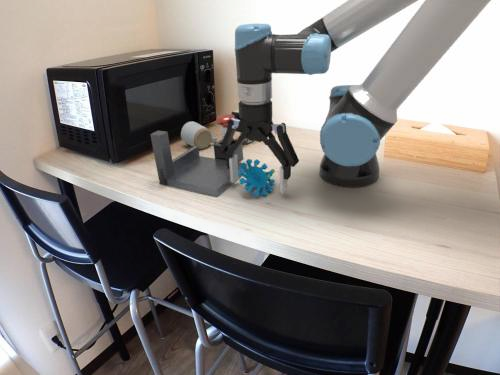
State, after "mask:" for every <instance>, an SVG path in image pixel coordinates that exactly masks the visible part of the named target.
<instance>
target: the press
mask: <svg viewBox="0 0 500 375" xmlns="http://www.w3.org/2000/svg"><path fill="white" fill-rule="evenodd" d="M150 139H151V140H150V141H151V145H152V151H153V156H154V162H155V165H156V172H157V176H158V183H159V185H162V186H166V187H170V188H176V189H179V190H184V191H189V192H192V193H198V194H202V195H206V196H209V197H210V196H211V197H215V198H218V197H219V196H221V195H222V194H223V193H224V192H226V190H227V189H228V188H230V187H231V186H232V185H233V184H234V183H232V182H231V178H230V169H228V168H227V160H226V157H225V155H223V154H219V149H220V147H221V144H222V139H220V140H218V141H216V143H213V153H214V157H208V156H201V155H200V149H199V148H198V146H194V147H193V146H191V148H190V149H188V150H186V151H184V152H183V153H181V154H180V155H177V156H176V157H174V158H173V157H172V150H171V144H170V139H169V133H168V131H165V130H163V131H162V130H157V131H153V132H152V133H150ZM237 139H238V138H236V139H235V138H233V144H234V143H235V142H236V140H237ZM233 144H232V145H233ZM232 145H231V146H232ZM231 146H229V148H228V149H230V148H231ZM233 155H237V162H238V171H239V170H240V169H242V168H241V167H240V165H241V164H242V163H243V162H242V161H243V160H244V148H243V143H242V144H241V146H240V147H239V148H238V149H237V151H236V152H235V153H234V154H233ZM241 162H242V163H241ZM246 168H247V169H248V165H247V163H246ZM242 170H243V169H242ZM243 172H244V173H245V171H244V170H243ZM245 174H246V173H245ZM238 177H239V178H238V179H237V180H236V181H235V182H237V181H238V180H240V179H241V178H242V176H240V175H238Z"/></svg>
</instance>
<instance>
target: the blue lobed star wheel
mask: <svg viewBox="0 0 500 375" xmlns="http://www.w3.org/2000/svg"><path fill="white" fill-rule="evenodd" d="M252 163H253V166H252ZM260 163H261V161H260V160H259V159H255V160H252V159H250V158H248V159H246V161H245V162H244V161H243V162H242V164H241V165H240V167H241V168H242V169H243V170H244V171H245V173H244V172H243V170H242V169H240V170H239V171H238V175H240V176H241V177H240V178H239V184H240V185H243V184H245V185H244V186H245V187H244V190H245V191H246V192H247V193H249V192H250V191H252V189H255V190H254V191H253V192H252V195H253V196H254V197H258V196H259V195H261V196H262V197H266V196H267V195H268V193H270V192H271V191H273V190H274V188H273V187H272V186H273V185H274V184H275V182H276V181H275V179H273V178H271V177H273V174H275V172H276V170H275V169H274V168H272V169H270V170H269V171H265V170H267V169H268V165H267V164H266V163H263V164H262V165H261V166H260V167H258V166H259V165H260ZM246 164H247V165H248V169H247V168H246ZM260 189H261V193H260Z"/></svg>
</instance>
